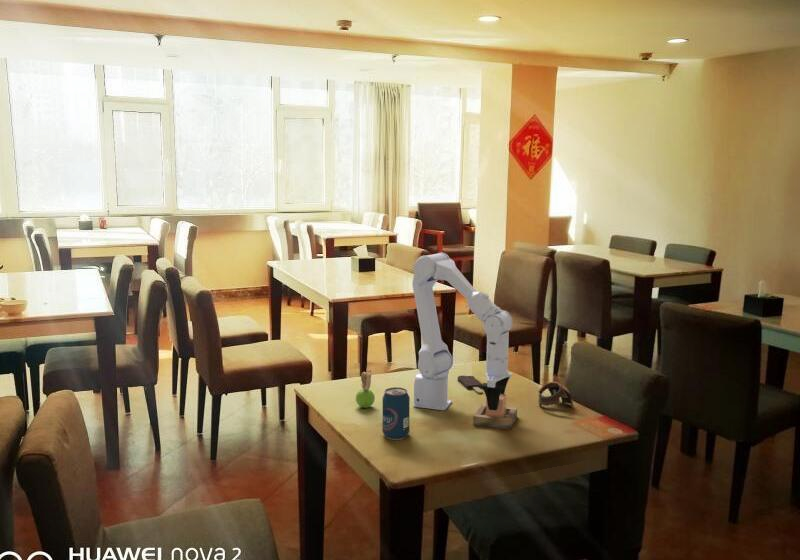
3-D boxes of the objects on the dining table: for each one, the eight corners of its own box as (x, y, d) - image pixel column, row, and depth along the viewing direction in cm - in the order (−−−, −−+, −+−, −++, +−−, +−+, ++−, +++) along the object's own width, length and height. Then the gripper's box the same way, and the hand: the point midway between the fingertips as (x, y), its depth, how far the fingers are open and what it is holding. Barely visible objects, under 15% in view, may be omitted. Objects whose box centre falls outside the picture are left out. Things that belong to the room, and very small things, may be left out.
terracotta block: (485, 418, 182) (486, 397, 181) (489, 413, 186) (490, 392, 185) (502, 421, 180) (503, 399, 179) (505, 415, 185) (506, 394, 184)
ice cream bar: (488, 394, 206) (471, 379, 220) (488, 389, 205) (471, 374, 220) (472, 395, 204) (456, 380, 219) (472, 390, 204) (456, 375, 218)
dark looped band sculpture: (579, 414, 190) (568, 392, 187) (547, 426, 192) (536, 404, 189) (570, 390, 201) (560, 369, 198) (541, 401, 203) (530, 381, 200)
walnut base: (473, 424, 180) (473, 415, 180) (481, 412, 190) (481, 403, 189) (510, 429, 177) (510, 420, 177) (516, 416, 186) (517, 408, 186)
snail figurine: (361, 412, 189) (360, 371, 187) (353, 405, 195) (352, 365, 193) (378, 410, 191) (378, 369, 189) (370, 402, 197) (370, 363, 195)
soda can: (376, 436, 173) (376, 391, 171) (394, 428, 178) (394, 384, 176) (397, 443, 168) (397, 397, 166) (414, 435, 173) (415, 390, 171)
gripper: (507, 365, 172) (505, 415, 175) (516, 351, 186) (515, 398, 188) (480, 362, 175) (478, 412, 177) (491, 348, 188) (490, 395, 190)
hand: (495, 404), depth 183 cm, fingers open, 7 cm apart
